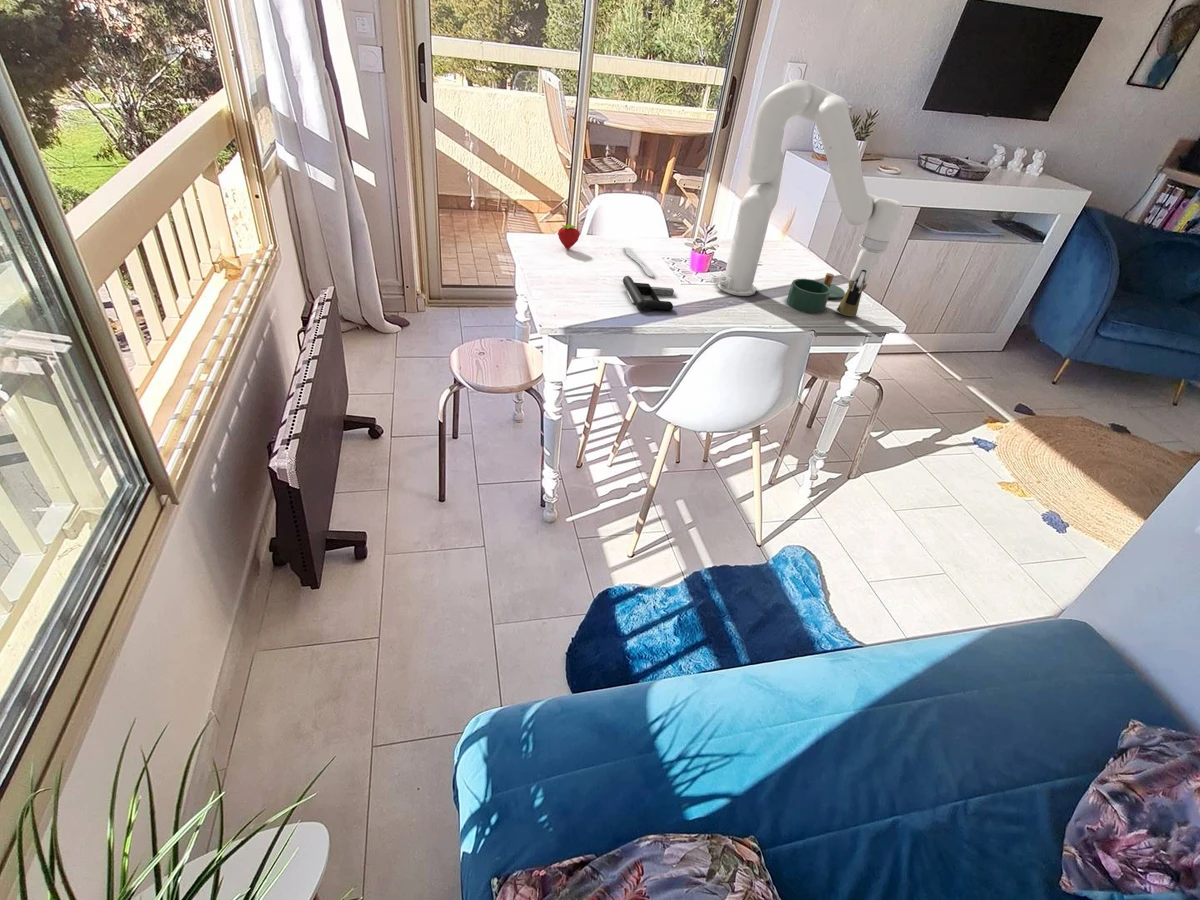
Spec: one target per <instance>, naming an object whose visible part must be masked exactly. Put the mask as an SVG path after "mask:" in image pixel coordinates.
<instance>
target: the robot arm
mask: <svg viewBox="0 0 1200 900" xmlns="http://www.w3.org/2000/svg"><path fill="white" fill-rule="evenodd" d="M795 116H799V117H801V118H803V119H805V120H807V121H809V122H812V123H814V124H815V126H816V129H817V132H818V133H817V134H818V136H819V139H820V142H821V145H822V148H823V150H824V155H825V158H826V161H827V165H828V168H829V173H830V176H831V179H832V182H833V186H834V189H835V194H836V197H837V201H838V203H839V207H840V210H841V213H842V215H843V218H844V220H845V222H847V223H848V224H850V225H852V226H862V225H863V224H865V223H866V222H867V224H866V225H865V228H864V231H863V233H862V236H861V238H860V241H859V243H858V246H859V248H860V250H859V252H858V255H857V258H856V260H855V262H854V265H853V267H852V270H851V273H850V277H849V281H854V283H853V286H852V289H851V290H850V291H849V294H848V297H847V299H846V303H847V304H851V305H856V303H857V301H858V299H859V296H860V294H861V293H860V292H861V289H862V287H863V284H866V283H867V284H868V281H869V279H870V277H871V275H872V273H873V270H874V268H875V265H876V263H877V261H878V259H879V256H880V254H882V253H885V251H886V250H887V248H888V245H889V243H890V240H891V238H892V236H893V232H894V230H895V229H896V225H897V222H898V220H899V218H900V216H901V213H902V210H903V204H902V202H900V201H899V200H896V199H893V198H889V197H881V196H878V195H875V194H873V193H870V192H868V190H867V187H866V184H865V179H864V175H863V170H862V169H863V168H862V157H861V151H860V147H859V144H858V141H857V137H856V134H855V129H854V127H853V125H852V124H853V123H852V120H851V117H850V106H849V103H848V102H847V100H846V99H845V98H844V97H843V96H841V95H838V94H836V93H834V92H831V91H829V90H826V89H825V88H822V87H821V86H817V85H816V84H814V83H811V82H809V81H807V80H805V79H794V80H791V81H789V82H787V83H785V84H783V85H781V86H780V87H777V88H776V89H775V90H773V91H772V92H771V93H769V94H768V95H767V96H766V97H765V98H764V100H763V101H762V102H761V103H760V105H759V108H758V110H757V112H756V117H755V121H754V125H753V126H754V127H753V133H752V139H751V144H750V145H751V146H750V149H749V150H750V151H749V157H748V162H747V174H748V177H749V180H748V181H749V182H748V189H747V192H745V194H744V196H742V199H741V201H740V204H739V206H738V212H737V219H736V222H735V223H736V224H735V229H734V233H733V237H732V242H731V247H730V251H729V255H728V259H727V264H726V268H725V272H721V275H719V276H711V277H710V283H711V284H717V288H718V289H720V290H721V291H722V292H725V293H727V294H729V295H734V296H738V297H750V296H753V295H755V294H756V291H757V287H756V285H755V284H754V281H755V277H756V273H757V269H758V266H759V262H760V258H761V254H762V251H763V246H764V242H765V238H766V235H767V232H768V231H767V230H768V227H769V223H770V219H771V215H772V212H773V211H774V209H775V207H776V204H777V202H778V198H779V192H780V187H781V182H782V181H781V180H782V174H783V170H784V162H785V161H784V154H783V152H782V144H783V139H784V134H785V127H786V123H787V122H788V120H789V119H790V118H792V117H795ZM856 280H858V282H857V281H856ZM862 281H863V282H862ZM855 284H857V285H855ZM861 295H862V294H861Z"/></svg>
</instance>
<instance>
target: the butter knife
mask: <svg viewBox="0 0 1200 900" xmlns="http://www.w3.org/2000/svg"><path fill="white" fill-rule="evenodd" d="M625 253H626V255H627V257H629V258H631V259H632V260H633V261H635V262H636V263H637V264H638V265H639V266H640V267H641V268H642V270H643V272H644V273H645V274H646V275H647V276H648V277H651V278H655V274H654V273H653V271H652V270H651V269H649V268H648V267H647V266H646V265H645V264H644V263H643V262H641V260H640V259H639V258H638V257H637V256H636V254H635V253H634V252H633V251H632V250H631V249H630V248H629V247H625Z"/></svg>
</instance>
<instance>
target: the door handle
mask: <svg viewBox="0 0 1200 900" xmlns="http://www.w3.org/2000/svg"><path fill="white" fill-rule="evenodd" d="M622 283H623V285H624V287H625V289H626V291H625V293H626V294H627V295H628V297H629V299H630V301H631V303H632V304H634V305H635V306H636V308H637V309H638V310H641V311H643V310H656V311H669V312H670V311H672V310H673V308H674V305H673V302H671V301H669V300H660V299H659V297H658V295H663V296H674V293H675V289H674V288H672V287H659V286H651V285H650V283H645V282H636V281H634V280H633V278H632V277H631V276H630V275H625V276H624V277H623V279H622ZM645 296H646V297H649V299H645V298H644V297H645Z"/></svg>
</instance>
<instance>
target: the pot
mask: <svg viewBox="0 0 1200 900" xmlns="http://www.w3.org/2000/svg"><path fill="white" fill-rule="evenodd" d="M818 281H819V280H815V279H812V278H811V279H809V278H796V279H793V280H792V281H791V284H790V288H789V290H788V294H787V298H786V304H787V305H788V306H789V307H790V308H792V309H794V310H796V311H799V312H802V313H807V314H821V313H823V312H824V311H825V309H826V306H827V303H828V300H829V299H830V298H829V295H830V292H831V289H830V287H829V286H827V285H825V284H823V283H821V282H822V281H819V282H818Z"/></svg>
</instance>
